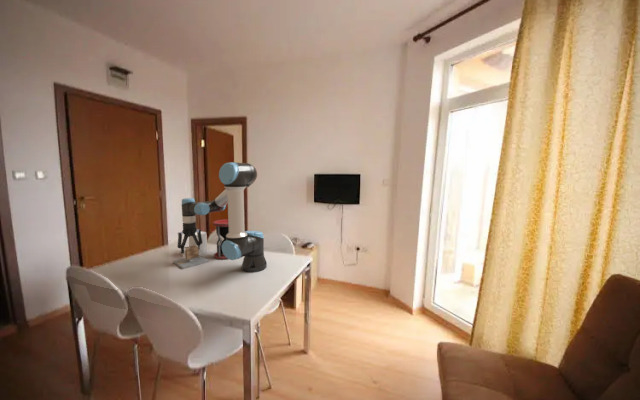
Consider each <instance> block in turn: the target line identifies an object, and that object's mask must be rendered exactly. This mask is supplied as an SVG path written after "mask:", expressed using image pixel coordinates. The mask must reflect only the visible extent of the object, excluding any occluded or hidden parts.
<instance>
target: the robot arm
mask: <svg viewBox="0 0 640 400" xmlns="http://www.w3.org/2000/svg"><path fill="white" fill-rule="evenodd" d="M218 178H219V180H220V182H221V183H222V184H223V186H224V190H223V191H222V192H221V193H219V195H218V196H217V197H215V198H214V199H213V200H209V201H202V202H201V201H200V202H196V201H195V198H193V197H191V198H190V197H188V198H187V197H186V198H182V199H181V215H182V231H180V232H177V235H178V236H177V237H178V238H177V246H176V247H177V248H178V249H180V254H182V259H183V258H184V259H185V258H186V252H185V248H184V247H185V246H186V243H187V240H188V239H189V237H190V236H193V238H194V240H195V242H196V244H197V245H195V246H196V247H198V248H199V249H200V244H202V238H201V231H202V229H199V228H198V229H197V222H196V221H197V218H196V215H198V216H205V215H207V214H212V213H217V212H219V213H220V212H222V211H224V210H225V209H226V207H227V216H228V217H227V218H228V225H229V233H228V234H227V235H226V241H224V242H223V244H222V252H223V254H224V255H225V257H226V258H228V259H227V260H230V261H235V260H239V259H241V258H243V261H242V264H241V270H242V271H244V272H248V273H255V272H256V273H257V272H260V271H261V272H262V271H263V270H265V269H267V268H268V267H267V266H268V264H267V260H266V257H265V252H264V251H265V247H264V246H265V245H264V243H265V240H264V239H265V237H264V233H263V232H262V231H259V230H246V229H245V226H246V225H245V195H244V193H245V192H244V191H245V189H246V188H249V187H251V185H253V184H254V182H255V181H256V179H257V178H258V171H257V169H256V167H255V166H254V165H253V164H251V163H249V162H235V161H233V162H232V161H231V162H226V163H223V164H222V166H220V168H219V172H218ZM196 232H197V234H198V239H199V242H198V240H197V238H196V235H195V233H196Z"/></svg>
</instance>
